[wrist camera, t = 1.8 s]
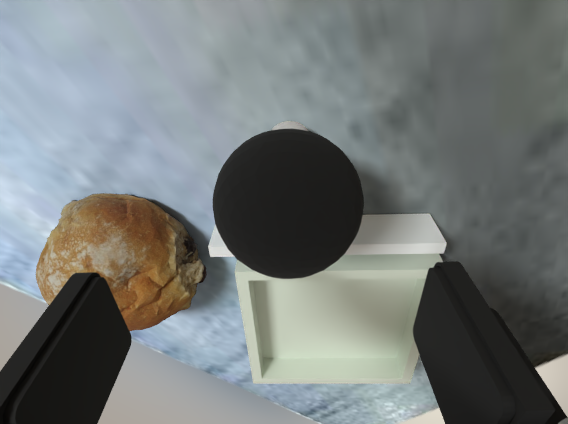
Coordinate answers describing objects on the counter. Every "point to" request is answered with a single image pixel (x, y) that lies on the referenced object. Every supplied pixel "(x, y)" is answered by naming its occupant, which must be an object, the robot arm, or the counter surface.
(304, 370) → the dish
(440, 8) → the counter surface
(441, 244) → the white flat bar
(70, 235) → the bread roll
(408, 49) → the counter surface
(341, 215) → the light bulb
